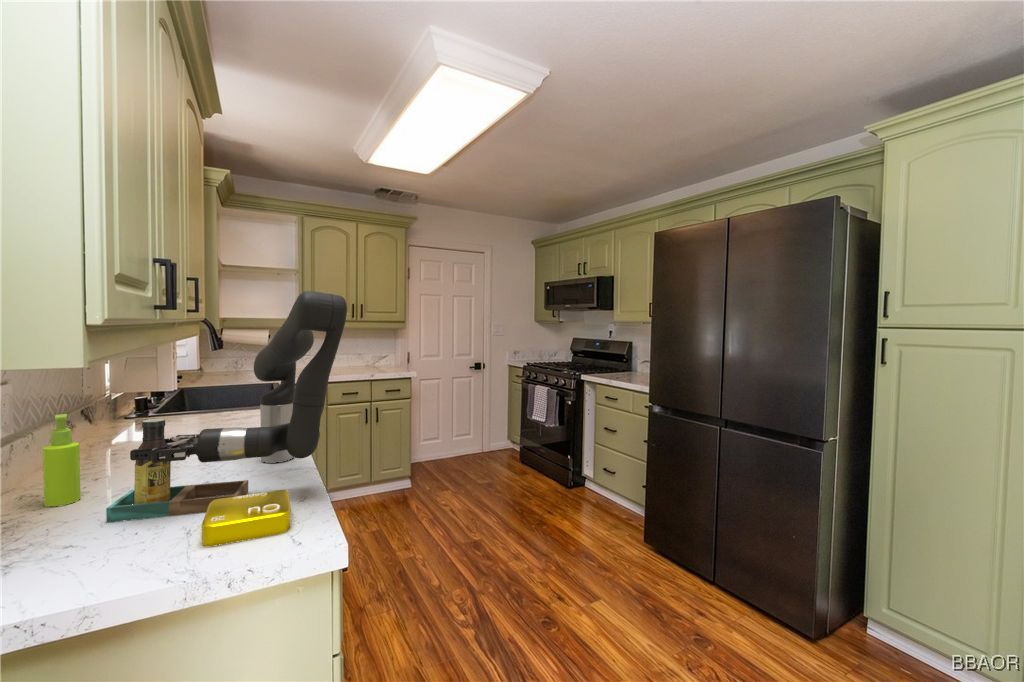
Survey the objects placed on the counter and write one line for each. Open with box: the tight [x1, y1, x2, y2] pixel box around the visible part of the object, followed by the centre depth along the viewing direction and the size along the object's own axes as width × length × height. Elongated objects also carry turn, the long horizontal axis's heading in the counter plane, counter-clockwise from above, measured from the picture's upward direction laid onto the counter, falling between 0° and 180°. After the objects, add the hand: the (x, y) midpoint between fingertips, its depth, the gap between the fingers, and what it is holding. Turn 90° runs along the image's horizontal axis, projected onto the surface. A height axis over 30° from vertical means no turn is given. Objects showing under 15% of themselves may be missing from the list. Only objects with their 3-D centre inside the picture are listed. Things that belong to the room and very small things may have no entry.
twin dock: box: [105, 479, 249, 523], centre depth 101 cm, size 11×24×3 cm, turn 109°
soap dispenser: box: [42, 413, 82, 507], centre depth 103 cm, size 6×7×20 cm
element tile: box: [201, 489, 291, 547], centre depth 92 cm, size 15×15×5 cm
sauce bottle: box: [133, 418, 172, 504], centre depth 99 cm, size 6×6×20 cm
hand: (140, 449), depth 98 cm, fingers open, 8 cm apart
